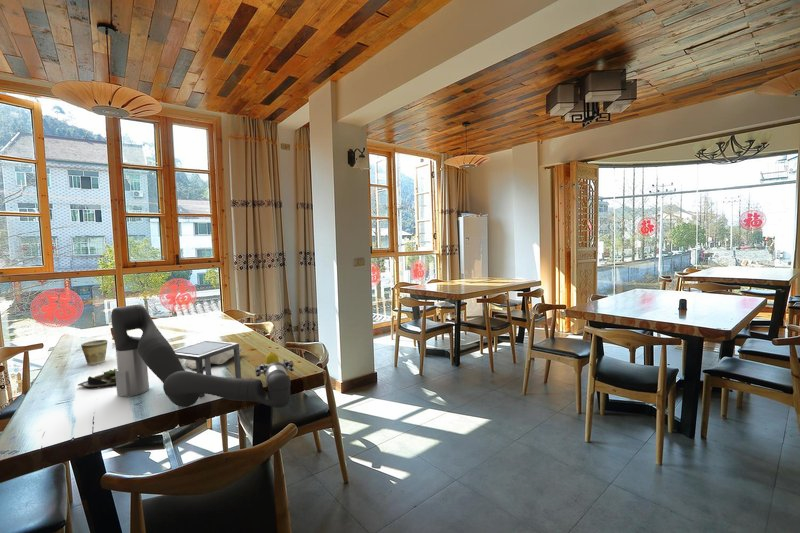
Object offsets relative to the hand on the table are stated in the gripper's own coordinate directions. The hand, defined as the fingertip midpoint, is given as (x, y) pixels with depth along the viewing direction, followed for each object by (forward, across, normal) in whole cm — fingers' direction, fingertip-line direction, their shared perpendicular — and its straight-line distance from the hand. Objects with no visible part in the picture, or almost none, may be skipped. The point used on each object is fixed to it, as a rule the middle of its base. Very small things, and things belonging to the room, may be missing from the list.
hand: (273, 363), depth 156 cm
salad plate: (+27, -64, -6) cm, 70 cm away
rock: (+34, -24, -6) cm, 42 cm away
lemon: (+9, 0, -6) cm, 11 cm away
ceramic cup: (+64, -80, -5) cm, 102 cm away
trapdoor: (+3, -26, +8) cm, 28 cm away
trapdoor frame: (+3, -26, -6) cm, 27 cm away
